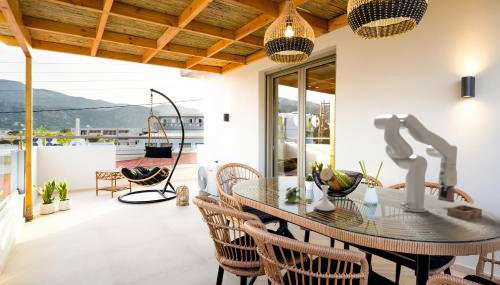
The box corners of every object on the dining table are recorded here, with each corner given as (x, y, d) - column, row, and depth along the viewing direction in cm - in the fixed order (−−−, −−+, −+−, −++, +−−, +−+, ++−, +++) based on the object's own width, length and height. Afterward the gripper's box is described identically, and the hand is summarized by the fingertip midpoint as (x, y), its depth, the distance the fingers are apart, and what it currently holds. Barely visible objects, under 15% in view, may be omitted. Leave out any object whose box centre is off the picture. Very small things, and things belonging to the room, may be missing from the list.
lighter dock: (465, 220, 143) (465, 212, 143) (447, 215, 152) (447, 207, 151) (481, 216, 148) (481, 209, 148) (463, 212, 157) (463, 205, 156)
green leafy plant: (288, 208, 185) (289, 191, 191) (304, 207, 180) (305, 190, 186) (281, 202, 177) (283, 184, 184) (297, 200, 172) (298, 183, 178)
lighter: (437, 199, 168) (438, 183, 167) (438, 198, 170) (439, 182, 169) (453, 202, 162) (454, 185, 161) (454, 201, 164) (455, 184, 163)
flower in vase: (311, 208, 167) (311, 166, 165) (327, 206, 170) (327, 165, 169) (323, 214, 154) (324, 169, 153) (341, 212, 158) (341, 168, 157)
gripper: (445, 167, 158) (443, 199, 159) (464, 166, 164) (462, 197, 165) (432, 165, 165) (430, 196, 166) (450, 165, 171) (449, 194, 172)
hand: (446, 196), depth 165 cm, fingers closed on lighter, 4 cm apart
